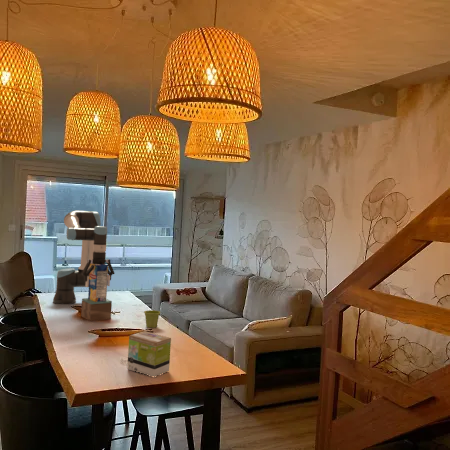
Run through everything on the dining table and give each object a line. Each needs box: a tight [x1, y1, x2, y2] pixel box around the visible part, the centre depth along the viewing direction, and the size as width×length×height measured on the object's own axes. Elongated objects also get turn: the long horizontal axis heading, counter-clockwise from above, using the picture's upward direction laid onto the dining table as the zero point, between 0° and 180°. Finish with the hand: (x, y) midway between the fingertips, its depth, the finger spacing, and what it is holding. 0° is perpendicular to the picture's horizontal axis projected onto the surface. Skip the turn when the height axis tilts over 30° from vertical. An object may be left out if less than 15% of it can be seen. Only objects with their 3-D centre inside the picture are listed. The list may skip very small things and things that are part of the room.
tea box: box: [127, 330, 172, 378], centre depth 188 cm, size 15×10×15 cm, turn 58°
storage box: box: [80, 299, 113, 322], centre depth 276 cm, size 14×13×10 cm
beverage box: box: [87, 263, 109, 302], centre depth 276 cm, size 7×11×22 cm, turn 39°
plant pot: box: [143, 309, 161, 329], centre depth 262 cm, size 9×9×9 cm
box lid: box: [81, 297, 113, 304], centre depth 276 cm, size 14×13×1 cm
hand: (97, 286), depth 276 cm, fingers open, 13 cm apart
